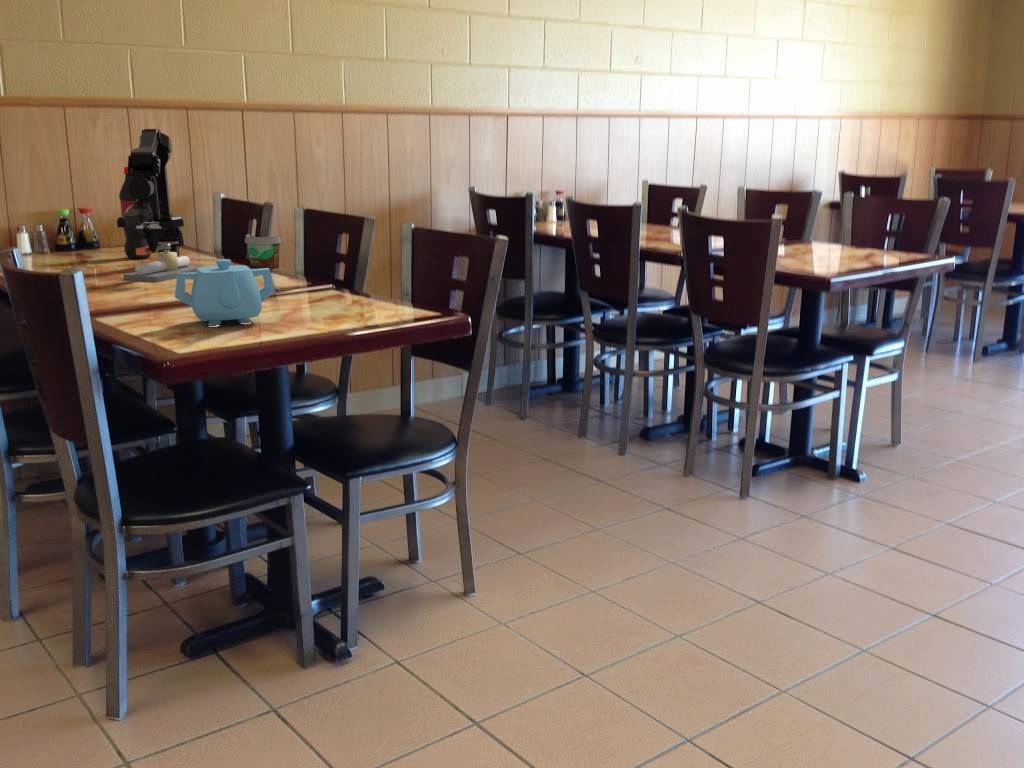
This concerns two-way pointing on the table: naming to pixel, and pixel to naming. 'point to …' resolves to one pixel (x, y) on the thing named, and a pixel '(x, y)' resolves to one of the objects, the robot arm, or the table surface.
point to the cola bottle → (132, 236)
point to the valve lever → (147, 250)
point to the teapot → (225, 292)
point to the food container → (263, 251)
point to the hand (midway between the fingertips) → (153, 252)
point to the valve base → (159, 275)
